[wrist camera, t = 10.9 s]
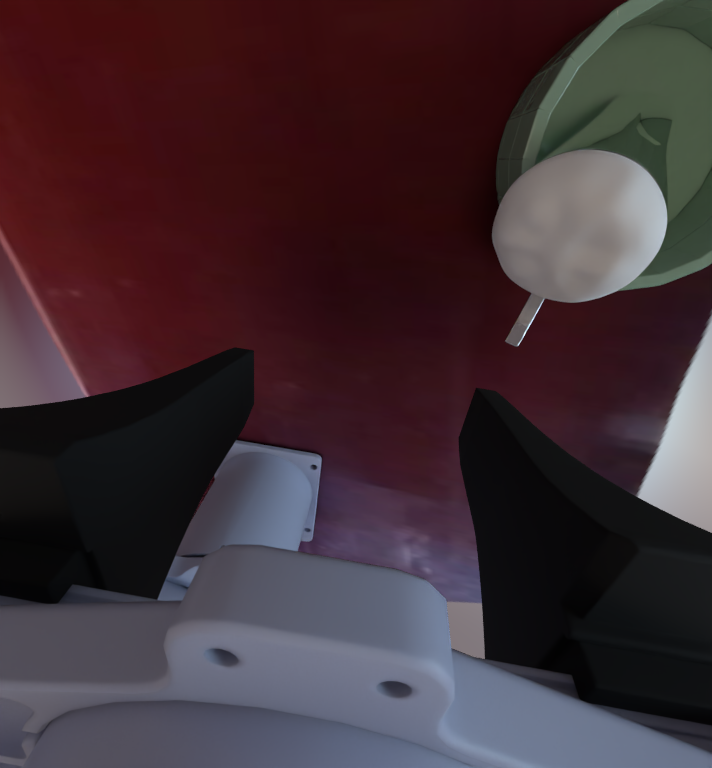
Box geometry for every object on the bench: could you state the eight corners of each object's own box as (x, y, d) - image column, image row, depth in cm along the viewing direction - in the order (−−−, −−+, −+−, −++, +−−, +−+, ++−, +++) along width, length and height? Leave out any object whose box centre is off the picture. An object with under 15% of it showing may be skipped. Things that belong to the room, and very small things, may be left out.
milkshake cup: (540, 197, 19) (449, 317, 14) (599, 56, 14) (495, 159, 9) (639, 228, 17) (577, 375, 12) (739, 82, 13) (702, 220, 8)
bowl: (654, 277, 19) (717, 307, 15) (470, 248, 19) (487, 270, 16) (787, 32, 14) (928, -15, 11) (540, -4, 15) (590, -63, 11)
